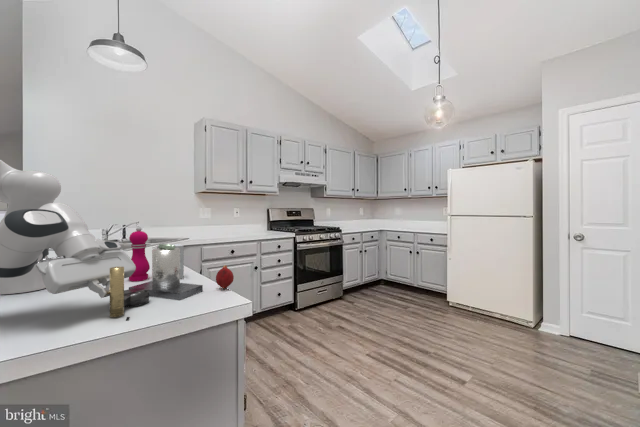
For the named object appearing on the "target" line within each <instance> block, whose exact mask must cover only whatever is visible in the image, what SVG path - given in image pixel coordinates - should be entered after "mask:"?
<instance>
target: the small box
mask: <svg viewBox="0 0 640 427" xmlns="http://www.w3.org/2000/svg"><path fill="white" fill-rule="evenodd" d="M170 245H175V248H180V280H182V278H183V279H184V277H185V275H184V274H185V273H184V270H185V267H184V265H185V263H184V260H185V258H184V256H185V255H184V249H185V248H184V244H180V243H175V244H174V243H172V244H170ZM158 246H159V244H158V245H156V249H158Z"/></svg>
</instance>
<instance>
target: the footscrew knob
mask: <svg viewBox="0 0 640 427" xmlns="http://www.w3.org/2000/svg"><path fill="white" fill-rule="evenodd" d="M149 302H150V296H149V290H148V289H144V288H137V289H129V288H128V289H125V278H124V267H122V266H119V267H111V268H110V296H109V317H110V318H120V317H122V316H124V315H125V308H134V307H138V306H142V305H145V304H148V303H149Z"/></svg>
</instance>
